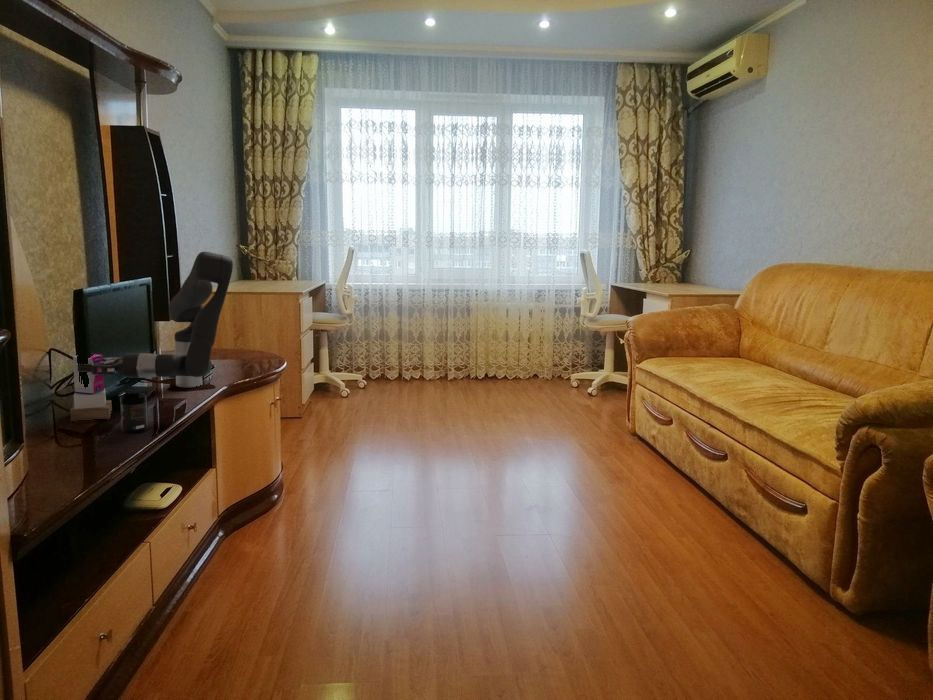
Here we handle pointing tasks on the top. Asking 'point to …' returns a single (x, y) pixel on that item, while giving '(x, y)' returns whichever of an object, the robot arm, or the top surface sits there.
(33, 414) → the top surface
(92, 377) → the supplement box
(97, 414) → the cream base block
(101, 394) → the pale grey top block
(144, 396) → the supplement container
